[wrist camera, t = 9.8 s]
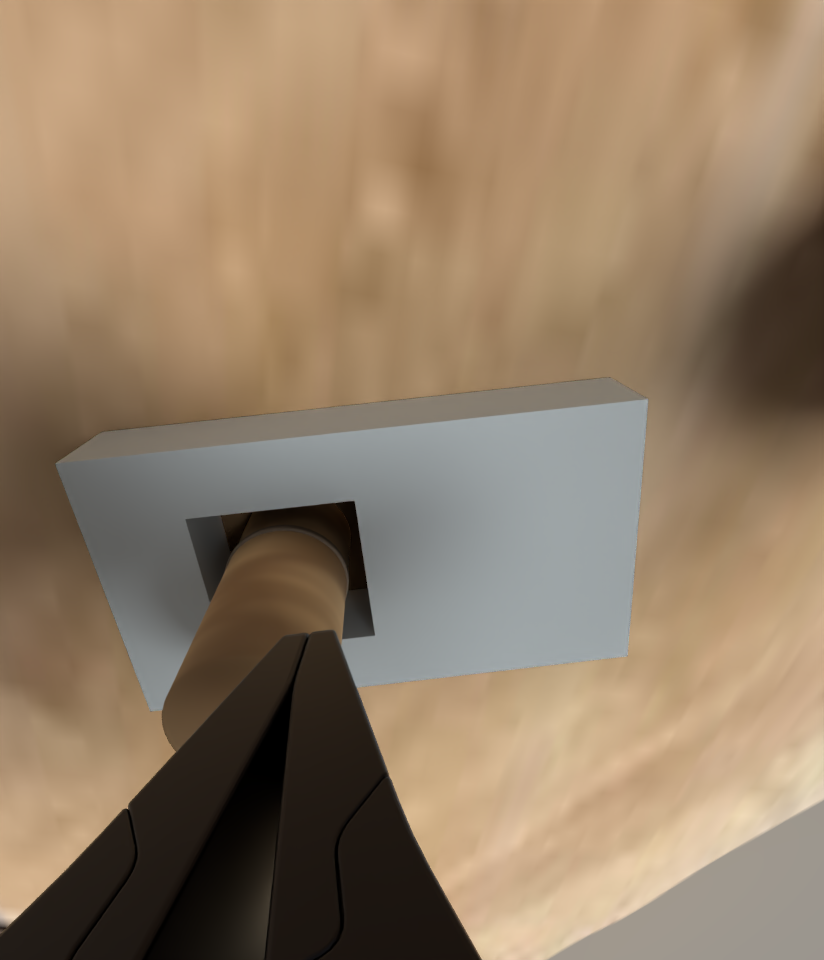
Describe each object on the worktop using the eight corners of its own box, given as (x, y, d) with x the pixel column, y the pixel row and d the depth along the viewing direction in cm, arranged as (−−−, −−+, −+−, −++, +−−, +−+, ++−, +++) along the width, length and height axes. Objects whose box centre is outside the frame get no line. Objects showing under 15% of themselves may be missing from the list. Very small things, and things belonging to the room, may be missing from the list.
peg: (344, 483, 20) (322, 645, 12) (359, 575, 22) (348, 773, 14) (234, 495, 20) (136, 666, 12) (257, 587, 22) (185, 793, 14)
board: (609, 377, 19) (648, 399, 17) (597, 607, 23) (627, 656, 21) (101, 431, 19) (54, 463, 16) (177, 656, 23) (150, 711, 20)
